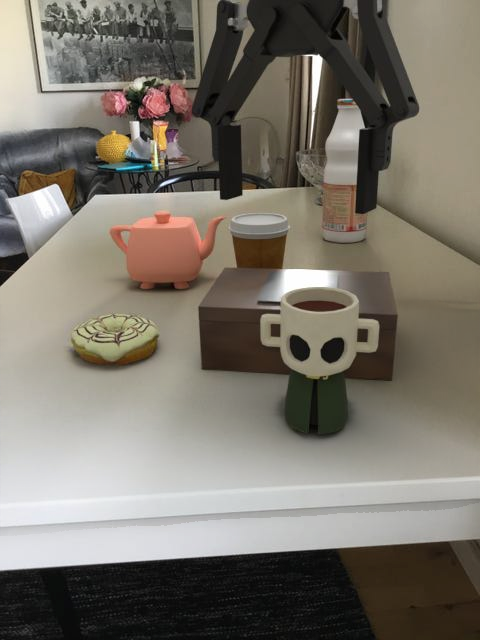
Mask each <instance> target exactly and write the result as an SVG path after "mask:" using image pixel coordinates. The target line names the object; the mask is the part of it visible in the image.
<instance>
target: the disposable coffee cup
mask: <svg viewBox="0 0 480 640" xmlns="http://www.w3.org/2000/svg"><path fill="white" fill-rule="evenodd" d="M290 229H291V225H290V224H289V222H288V218H287V216H286V215H283V214H279V213H272V212H252V213H243V214H238V215H235V216H233V217H232V218H231V220H230V225H229V226H228V230H229V232H230V234H231V238H232V245H233V252H234V257H235V264H236V268H263V269H284V259H285V252H286V244H287V236H288V233H289V230H290Z"/></svg>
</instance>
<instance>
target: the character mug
mask: <svg viewBox="0 0 480 640" xmlns="http://www.w3.org/2000/svg"><path fill="white" fill-rule="evenodd" d="M358 316H359V300H358V299H357V297H356V296H355V295H354V294H352V293H350V292H348V291H345V290H341V289H338V288H331V287H304V288H298V289H294V290H291V291H289V292H286V293H285V294H284V295H283V296H282V297H281V314H264V315H262V316H261V319H260V325H261V342H262V344H263V345H266V346H273V347H280V351H281V356H282V358H283V361H284V363H285V364H286V365H287V366H289V367H290V368H291V369H292V370H291V372H290V374H288V375H289V376H288V381H287V387H286V392H285V393H286V394H285V400H284V408H283V413H284V419H285V423H287V424H288V425H289V426H290V427H291V428H292V429H294V430H297V431H299V432H302V433H304V434H309V432H310V425H314V426H315V425H317V434H318V435H326V434H330V433H331V434H332V433H336V432H338V431H339V430H340V429H342V428H344V427H345V426H346V423H347V421H348V419H349V403H348V402H349V401H348V392H347V386H346V385H347V384H346V378H345V376H344V373H343V371H344V370H346V369H347V368H349V367H350V365H351V364H352V362H353V360H354V358H355V356H356V352H368V353H370V352H375V351H376V350H377V347H378V338H379V323H378V321H376V320H374V319H358ZM271 324H281V337H271ZM358 328H359V329H368V340H367V342H357V332H358Z"/></svg>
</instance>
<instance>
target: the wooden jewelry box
mask: <svg viewBox="0 0 480 640" xmlns="http://www.w3.org/2000/svg"><path fill="white" fill-rule="evenodd" d="M304 287H331V288H338V289H341V290H345V291H348V292H350V293H352V294H354V295H355V296H356V297H357V299H358V300H359V316H358V319H374V320H376V321H378V323H379V338H378V347H377V350H376V351H375V352H370V353H368V352H356V356H355V358H354V360H353V362H352V364H351V365H350V367H349V368H347V369H346V370H344V371H343V373H344V376H345V379H361V380H377V381H379V380H380V381H393V376H394V362H395V352H396V341H397V340H396V339H397V330H398V319H399V318H398V317H399V315H398V309H397V304H396V301H395V295H394V290H393V284H392V279H391V276H390V272H389V271H368V270H367V271H366V270H362V271H361V270H327V269H323V270H322V269H292V268H282V269H263V268H237V267H227V266H226V267H224V268H223V269H222V271H221V273H220V274H219V275H218V277H217V278H216V279H215V281H214V283H213V284H212V285H211V287H210V288H209V290H208V291H207V293H206V294H205V296H204V297H203V298H202V300H201V302H200V303H199V304H198V306H197V308H198V309H197V311H198V328H199V345H200V346H199V347H200V363H201V365H200V366H201V370H213V371H227V372H228V371H231V372H245V373H248V372H249V373H262V374H263V373H264V374H265V373H266V374H279V375H290V372H291V370H292V369H291V368H290V367H289V366H287V365H286V364H285V363H284V361H283V358H282V356H281V351H280V347H273V346H266V345H263V344H262V342H261V325H260V319H261V316H262V315H264V314H281V297H282V296H283V295H284V294H285V293H286V292H289V291H291V290H294V289H298V288H304ZM271 337H281V324H271ZM367 340H368V329H359V328H358V332H357V342H367Z"/></svg>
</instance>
